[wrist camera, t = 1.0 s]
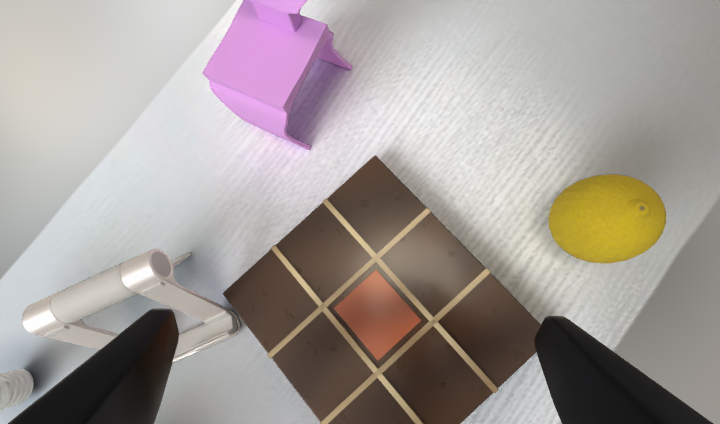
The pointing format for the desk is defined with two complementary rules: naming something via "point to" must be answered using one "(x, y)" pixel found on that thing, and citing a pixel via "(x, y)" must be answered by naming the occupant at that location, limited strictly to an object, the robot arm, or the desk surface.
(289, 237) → the board
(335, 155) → the desk surface
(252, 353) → the desk surface
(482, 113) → the desk surface
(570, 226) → the lemon
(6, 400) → the lightbulb
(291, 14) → the toy chair
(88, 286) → the tablet stand
